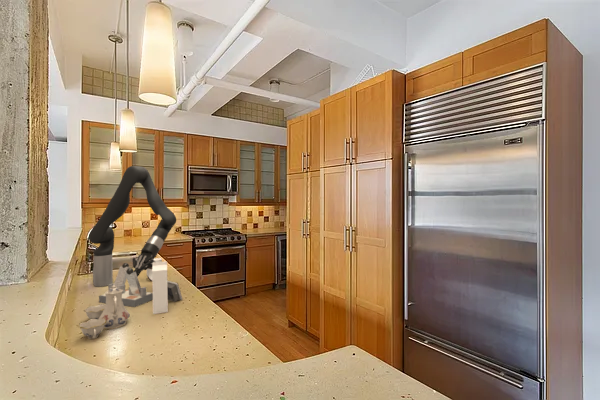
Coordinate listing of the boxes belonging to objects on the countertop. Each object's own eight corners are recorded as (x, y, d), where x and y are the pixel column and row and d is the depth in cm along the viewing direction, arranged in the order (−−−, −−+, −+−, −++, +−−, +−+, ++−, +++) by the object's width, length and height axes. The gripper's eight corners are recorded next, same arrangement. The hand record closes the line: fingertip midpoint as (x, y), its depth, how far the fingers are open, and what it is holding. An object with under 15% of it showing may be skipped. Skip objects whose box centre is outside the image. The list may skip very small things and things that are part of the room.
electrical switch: (182, 300, 156) (181, 281, 155) (173, 304, 151) (171, 285, 151) (171, 296, 161) (169, 279, 160) (161, 300, 157) (159, 282, 156)
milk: (167, 312, 140) (167, 262, 139) (152, 314, 138) (152, 263, 137) (167, 307, 146) (167, 259, 145) (152, 309, 143) (152, 261, 143)
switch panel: (99, 302, 153) (98, 287, 153) (120, 294, 165) (119, 280, 164) (135, 307, 146) (134, 291, 146) (154, 298, 158) (154, 284, 158)
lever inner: (110, 289, 157) (120, 261, 162) (115, 290, 160) (124, 263, 165) (118, 290, 155) (128, 262, 161) (123, 291, 158) (132, 263, 163)
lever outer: (130, 294, 153) (122, 269, 148) (135, 291, 155) (127, 266, 151) (139, 295, 151) (130, 270, 146) (143, 292, 154) (135, 267, 149)
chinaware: (81, 323, 133) (76, 284, 131) (126, 310, 142) (121, 274, 141) (81, 350, 110) (74, 303, 108) (135, 333, 119) (129, 290, 118)
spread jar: (160, 275, 203) (160, 257, 203) (170, 278, 197) (170, 259, 196) (141, 279, 194) (141, 260, 193) (151, 282, 187) (151, 262, 187)
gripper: (138, 241, 162) (118, 271, 150) (159, 242, 158) (140, 273, 146) (146, 250, 167) (128, 279, 156) (167, 251, 163) (149, 281, 152)
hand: (134, 276), depth 151 cm, fingers closed
